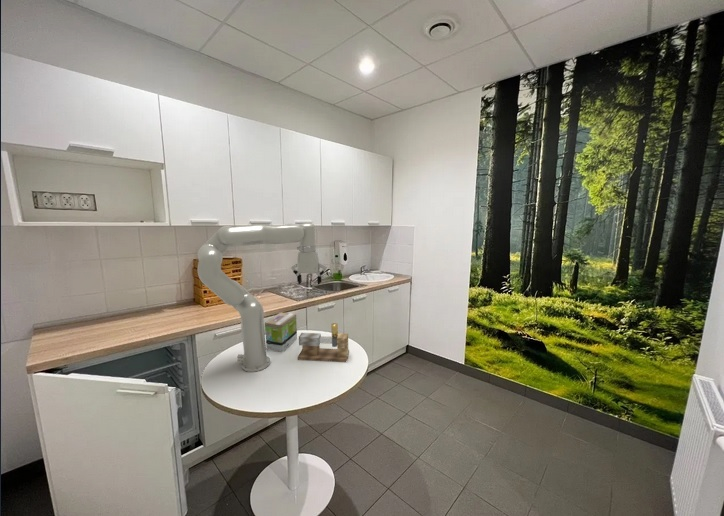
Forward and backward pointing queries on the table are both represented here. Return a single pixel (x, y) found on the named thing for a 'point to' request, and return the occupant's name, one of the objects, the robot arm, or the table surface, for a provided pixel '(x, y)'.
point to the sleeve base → (317, 349)
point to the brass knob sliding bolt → (332, 339)
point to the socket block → (342, 345)
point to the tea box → (281, 331)
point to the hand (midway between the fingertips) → (309, 283)
